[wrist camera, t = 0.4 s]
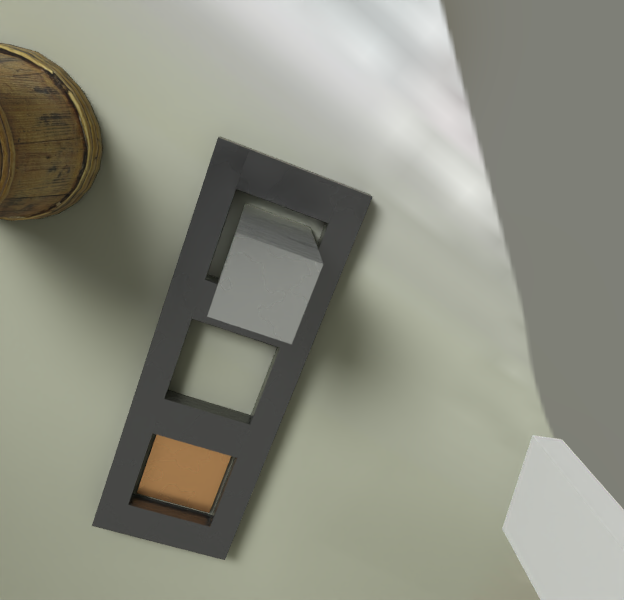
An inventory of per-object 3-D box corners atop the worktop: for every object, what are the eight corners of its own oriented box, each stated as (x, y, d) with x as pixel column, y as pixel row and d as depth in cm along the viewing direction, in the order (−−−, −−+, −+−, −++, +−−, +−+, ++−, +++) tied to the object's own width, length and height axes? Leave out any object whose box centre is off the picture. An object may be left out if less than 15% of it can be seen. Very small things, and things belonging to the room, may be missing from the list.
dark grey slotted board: (97, 513, 39) (92, 525, 37) (220, 136, 32) (218, 137, 31) (226, 547, 40) (224, 559, 39) (368, 194, 33) (372, 196, 32)
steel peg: (223, 266, 34) (206, 316, 26) (245, 203, 33) (236, 232, 25) (286, 288, 35) (291, 344, 26) (310, 227, 34) (323, 264, 25)
